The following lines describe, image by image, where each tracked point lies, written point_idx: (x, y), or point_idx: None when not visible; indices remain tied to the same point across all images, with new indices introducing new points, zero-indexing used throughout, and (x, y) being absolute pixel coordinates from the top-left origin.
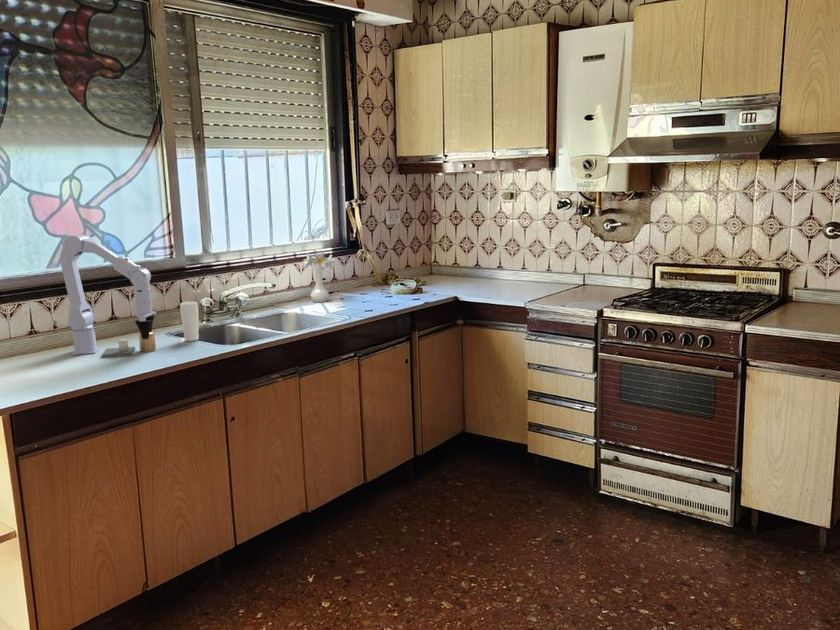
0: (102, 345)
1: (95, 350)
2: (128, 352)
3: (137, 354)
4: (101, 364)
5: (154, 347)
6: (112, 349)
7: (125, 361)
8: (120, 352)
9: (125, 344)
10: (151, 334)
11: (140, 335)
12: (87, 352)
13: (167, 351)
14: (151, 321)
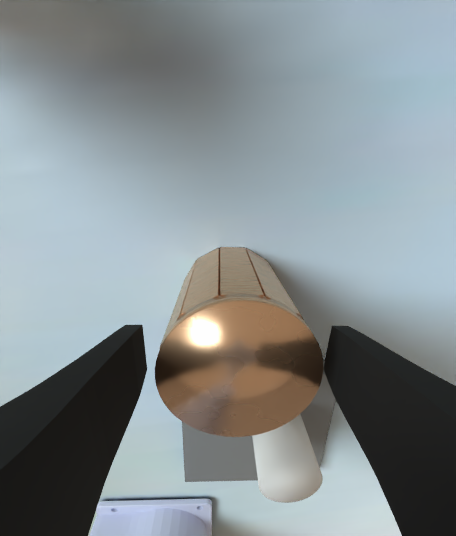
0: None
1: (177, 506)
2: None
3: (317, 335)
4: None
5: (253, 257)
6: (217, 459)
7: (452, 369)
8: (313, 419)
9: (308, 439)
10: (302, 320)
11: (289, 410)
12: (207, 522)
13: (324, 156)
14: (26, 473)
